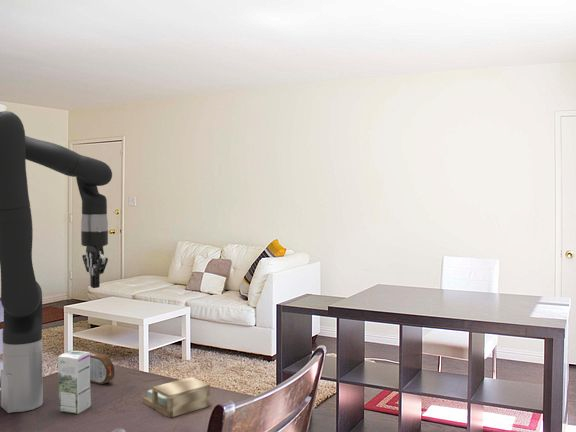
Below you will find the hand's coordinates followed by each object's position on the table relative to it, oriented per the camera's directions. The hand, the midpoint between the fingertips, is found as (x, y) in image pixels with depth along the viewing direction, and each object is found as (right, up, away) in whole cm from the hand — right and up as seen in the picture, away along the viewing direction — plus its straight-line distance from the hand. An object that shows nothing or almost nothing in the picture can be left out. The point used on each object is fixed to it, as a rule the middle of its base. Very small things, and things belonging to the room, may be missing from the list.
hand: (95, 287), depth 172 cm
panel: (+28, -29, -19) cm, 44 cm away
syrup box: (+3, -28, -24) cm, 37 cm away
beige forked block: (+28, -28, -21) cm, 45 cm away
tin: (0, -27, -2) cm, 28 cm away
